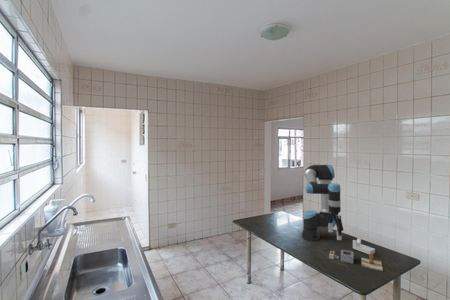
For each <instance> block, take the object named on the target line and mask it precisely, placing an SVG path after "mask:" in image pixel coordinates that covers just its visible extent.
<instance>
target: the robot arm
mask: <svg viewBox="0 0 450 300" xmlns="http://www.w3.org/2000/svg"><path fill="white" fill-rule="evenodd" d="M304 177H305V178H306V183H305V193H306V194H310V195H314V194H316V195H320V206H321V207H320V210H319V212H318V211H316V210H306V211H304V212H303V216H302V219H303V221H302V222H303V223H302V224H303V229H302V231H301V238H302V239H303V240H306V241H307V242H308V241H310V242H316V241H319V240H320V233H319V231H318V228H328V233H333V232H334V229H333V228H335V226H336V240H337V241H342V239H343V237H342V235H343V234H342V232H344V226H343V222H342V216H341V215H339V213H341V204H342V202H341V200H342V199H341V190H342V189H341V184H339V183H337V182H334V183H332V181H334V180H333V179H334V178H335V169H334V167H333V166H332V164H311V165H310V166H307V168H305V170H304ZM317 179H318V181H319V182H320V183H318V181H317Z"/></svg>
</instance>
